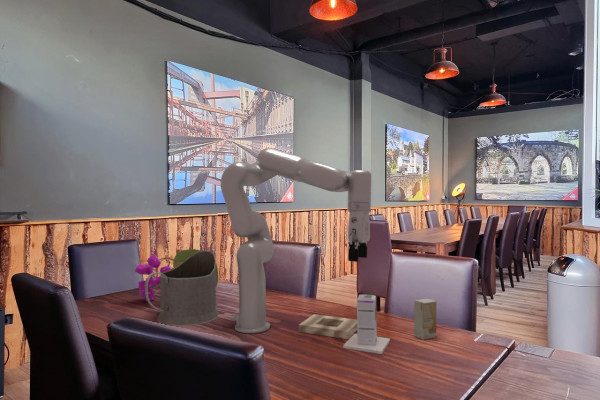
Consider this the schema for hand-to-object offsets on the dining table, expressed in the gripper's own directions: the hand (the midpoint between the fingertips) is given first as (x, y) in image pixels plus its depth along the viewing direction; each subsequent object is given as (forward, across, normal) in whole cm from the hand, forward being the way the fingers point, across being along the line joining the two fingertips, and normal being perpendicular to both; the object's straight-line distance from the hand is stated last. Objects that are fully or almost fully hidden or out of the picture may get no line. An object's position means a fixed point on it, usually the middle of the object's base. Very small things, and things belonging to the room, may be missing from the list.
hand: (357, 259), depth 131 cm
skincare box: (+26, +12, -20) cm, 35 cm away
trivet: (+26, -3, -5) cm, 27 cm away
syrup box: (+26, -3, -5) cm, 26 cm away
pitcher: (+29, -8, +68) cm, 74 cm away
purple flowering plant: (+29, +16, +94) cm, 99 cm away
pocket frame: (+27, +5, +11) cm, 30 cm away
